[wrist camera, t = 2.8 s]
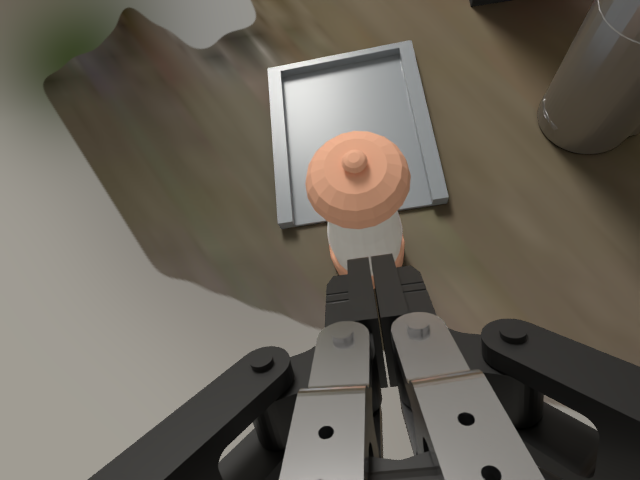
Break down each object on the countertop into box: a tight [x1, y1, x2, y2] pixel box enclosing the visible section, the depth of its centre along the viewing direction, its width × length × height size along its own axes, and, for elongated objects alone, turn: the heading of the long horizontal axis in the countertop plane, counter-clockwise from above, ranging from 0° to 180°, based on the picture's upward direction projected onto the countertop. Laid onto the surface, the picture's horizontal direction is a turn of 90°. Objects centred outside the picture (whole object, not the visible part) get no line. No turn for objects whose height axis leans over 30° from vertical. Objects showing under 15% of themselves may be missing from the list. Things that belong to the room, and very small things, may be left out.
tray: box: [268, 40, 449, 229], centre depth 47 cm, size 18×22×2 cm
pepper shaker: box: [305, 131, 411, 289], centre depth 34 cm, size 7×7×19 cm
